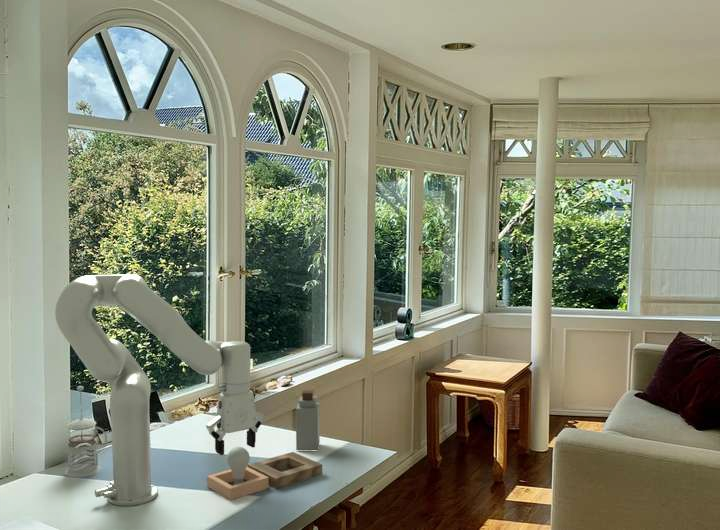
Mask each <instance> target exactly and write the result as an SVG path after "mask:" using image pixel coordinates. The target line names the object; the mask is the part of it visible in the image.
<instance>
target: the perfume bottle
mask: <svg viewBox="0 0 720 530" xmlns="http://www.w3.org/2000/svg"><path fill="white" fill-rule="evenodd" d="M301 395H302V396H299V398H298V403H297V405H296V408H295V437H296V438H295V442H296V443H295V447H296V449H295V450H318V451H319V449H318V447H319V448H320V445H319V443H321V440H320V438H321V437H320V434H321V433H320V430H321V429H320V402H317V400H318V399H317V398H318V396H314V390H313V389H311V390H309V389H307V390H302V392H301Z"/></svg>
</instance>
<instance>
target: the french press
mask: <svg viewBox="0 0 720 530" xmlns="http://www.w3.org/2000/svg"><path fill="white" fill-rule="evenodd" d="M76 391H78V392H79V396H80V398H79V399H80V401H79V403H80V404H82V391H84V386H82V385H79V386H77V388H76ZM82 415H83V414H82V410H80V418H77V419H74V420H72V421H70V422H68V423H67V424H66V429H68V430H71V431H81V433H80V434H76V435H73V436H72V437H69V438H68V442H69V443H68V444H67V458H68V459H67V460H68V461H67V463H68V465H67V466H68V468H67V470H65V472H64V474H65V476H67V477H70V478H85V477H89V476H93V475H95V474H98V473H99V472H101V470H100V469H102V468H101V467H100V466H99V464H98V461H99V460H98V458H99V456H98V454H99V453H100V452H102V451H103V450H104V449H105V448H106V446H107V442H108V435H107V433H106V432H105V430H104V429H103V428H102V427H99V426H98V425H97V421H95V420H93V419H90V418H82V417H83V416H82ZM93 428H94V432H95V433H97V432H98V430H100V431H102V432H103V433H104V443H103V445H102V446H101V447H100V448H99V449H97V441H96V440H95V439H96V436H95V435H94V434H90V433H89V434H83V431H85V430H89V429H93ZM81 444H82V445H81ZM89 444H90V445H89Z"/></svg>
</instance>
